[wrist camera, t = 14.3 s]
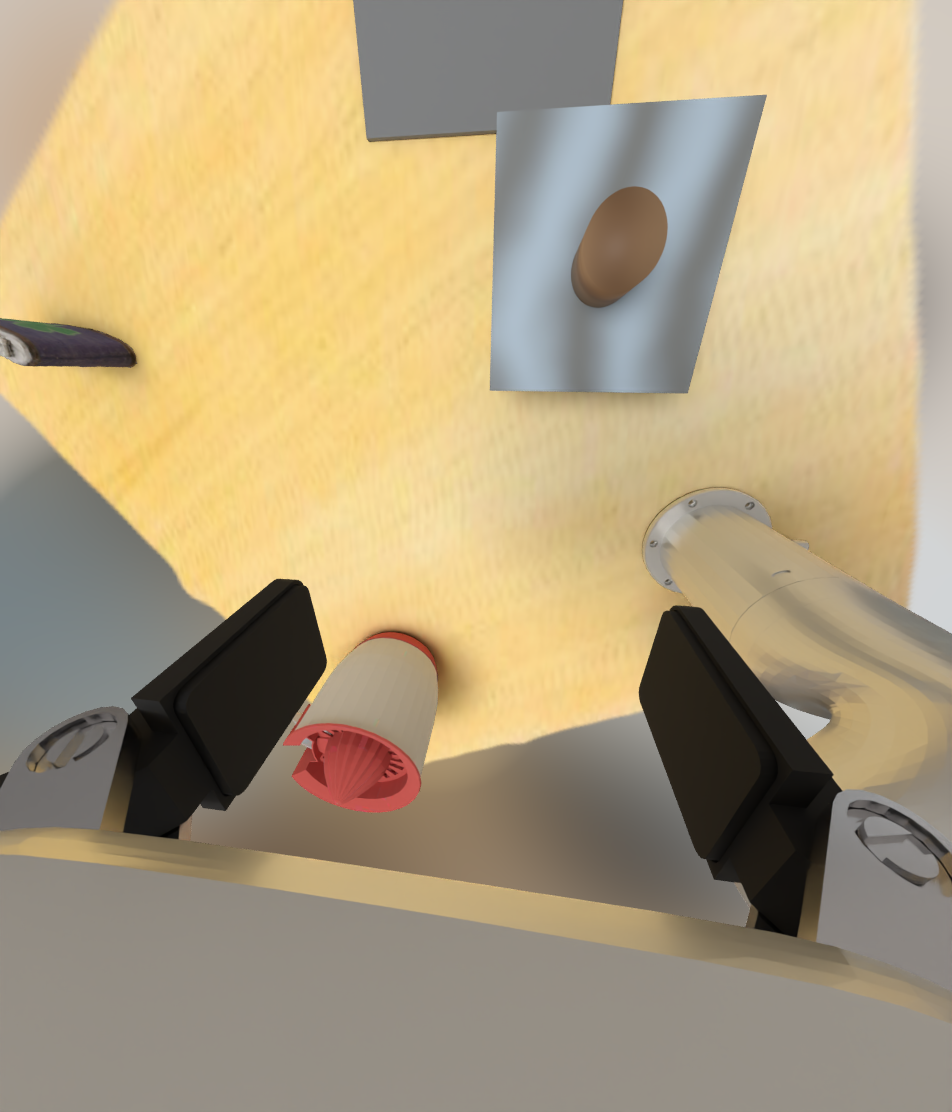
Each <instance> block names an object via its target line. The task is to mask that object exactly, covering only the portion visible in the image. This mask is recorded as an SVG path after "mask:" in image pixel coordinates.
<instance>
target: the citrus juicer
mask: <svg viewBox="0 0 952 1112" xmlns="http://www.w3.org/2000/svg"><path fill="white" fill-rule="evenodd" d="M437 682H438V673H437V668H436V664H435V661H434V658H433V656H432V654H431V652H430V651H429V650H428V649H427V648H426V646H425V645H423V644H422V643H421V642H420V641H418V640H416V639H414V638H413V637H410V636H408V635H405V634H401V633H395V632H386V633H380V634H376V635H374V636H372V637H370V638H368V639H367V640H365V641H363V642H362V643H360V644H359V645H358V646H357V647H356V648H355V649H354V650H353V651H352V652H351V653H349V654H348V655H347V656H346V657H345V658H344V659H343V660H342V661H341V662H340V663H339V664H338V665H337V667H336V668H335V669H334V671H333V672H332V673H331V675H330V676H329V678H328V679H327V681H326V682H325V684H324V685H323V687H322V689H321V690H320V692H319V693H318V695H317V696H316V698H315V700H314V701H313V703H312V704H311V705H310V704H308V706H307V708H306V709H305V711H304V712H303V714H302V713H299V712H297V713H296V715H295V716H294V718H293V719H292V720H293V721H294V722H295V724H296V725H295V726H294V728H293V729H292V731H291V732H290V734H289V735H288V737H287V738H286V740H285V741H284V743H283V745H300V744H303V745H304V746H306V747H307V749H306V750H305V752H304V754H303V756H302V758H301V759H300V761H299V763H298V765H297V767H296V769H295V771H294V772H293V774H292V777H293V778H294V779H295V780H296V782H297V783H298V784H299V785H300V786H302V787H303V788H304V789H306V790H307V791H308V792H310V793H311V794H313V795H315V796H317V797H318V798H320V799H322V800H324V801H327V802H329V803H331V804H334V805H337V806H340V807H343V808H347V809H351V810H355V811H363V812H387V811H393V810H396V809H400V808H402V807H404V806H406V805H408V804H409V803H410V802H412V801H413V800H414V799H415V798H416V796H417V794H418V793H419V791H420V787H421V778H420V777H421V773H422V768H423V765H424V761H425V757H426V753H427V749H428V745H429V741H430V737H431V733H432V729H433V725H434V720H435V715H436V709H437V704H438V683H437Z"/></svg>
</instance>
